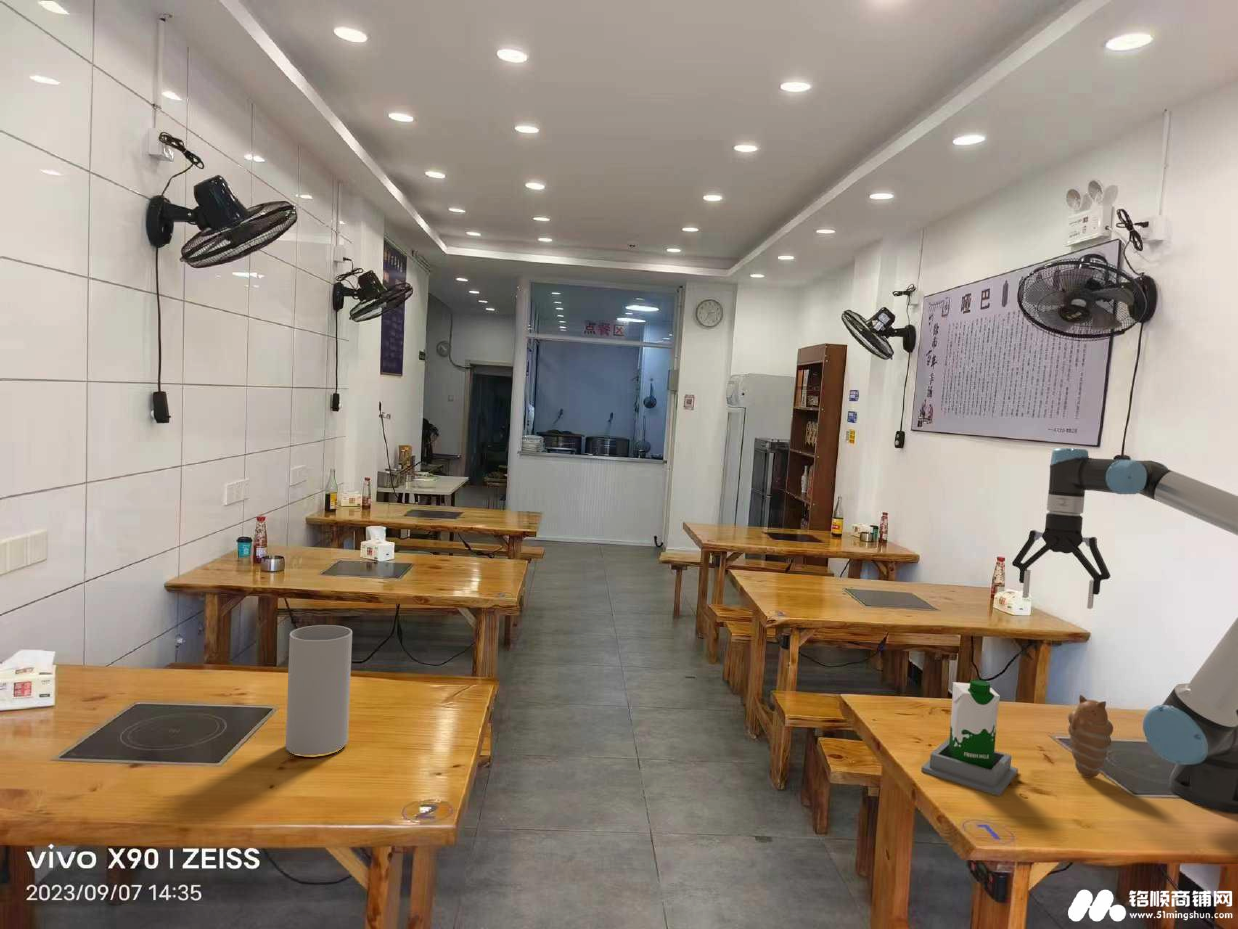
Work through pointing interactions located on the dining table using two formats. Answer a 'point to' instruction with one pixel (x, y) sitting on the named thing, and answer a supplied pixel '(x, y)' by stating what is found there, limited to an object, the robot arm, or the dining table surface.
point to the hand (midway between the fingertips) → (1057, 602)
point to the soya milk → (973, 723)
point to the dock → (971, 770)
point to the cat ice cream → (1089, 736)
